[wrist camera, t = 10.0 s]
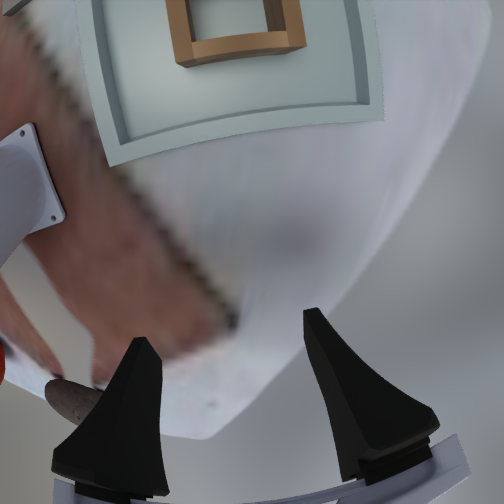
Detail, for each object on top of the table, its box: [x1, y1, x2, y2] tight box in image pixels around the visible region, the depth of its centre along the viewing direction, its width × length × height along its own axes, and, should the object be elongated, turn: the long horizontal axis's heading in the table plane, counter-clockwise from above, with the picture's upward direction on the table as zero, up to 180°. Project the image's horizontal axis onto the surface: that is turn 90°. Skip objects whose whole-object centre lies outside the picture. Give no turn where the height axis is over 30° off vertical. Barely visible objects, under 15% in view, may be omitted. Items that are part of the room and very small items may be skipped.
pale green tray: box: [75, 0, 384, 167], centre depth 10 cm, size 16×14×2 cm
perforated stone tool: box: [44, 379, 103, 426], centre depth 29 cm, size 15×5×7 cm, turn 52°
